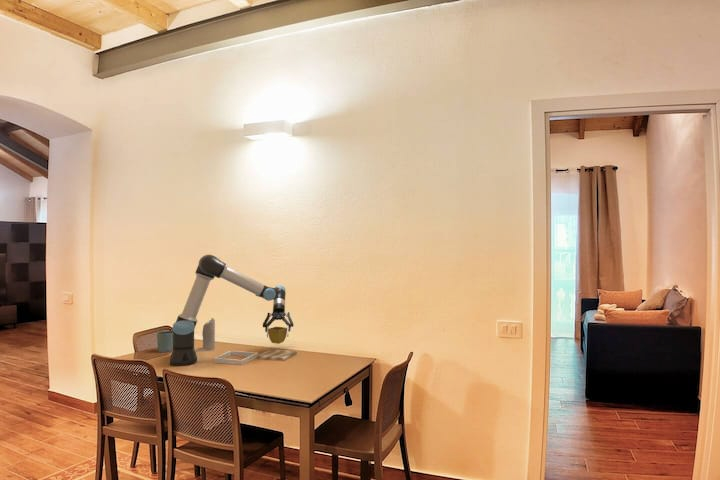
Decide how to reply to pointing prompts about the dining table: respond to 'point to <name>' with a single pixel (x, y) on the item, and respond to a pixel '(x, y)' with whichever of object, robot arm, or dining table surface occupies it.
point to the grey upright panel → (208, 336)
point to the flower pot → (277, 334)
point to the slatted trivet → (277, 355)
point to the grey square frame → (233, 361)
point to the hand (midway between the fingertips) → (277, 335)
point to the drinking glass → (165, 341)
